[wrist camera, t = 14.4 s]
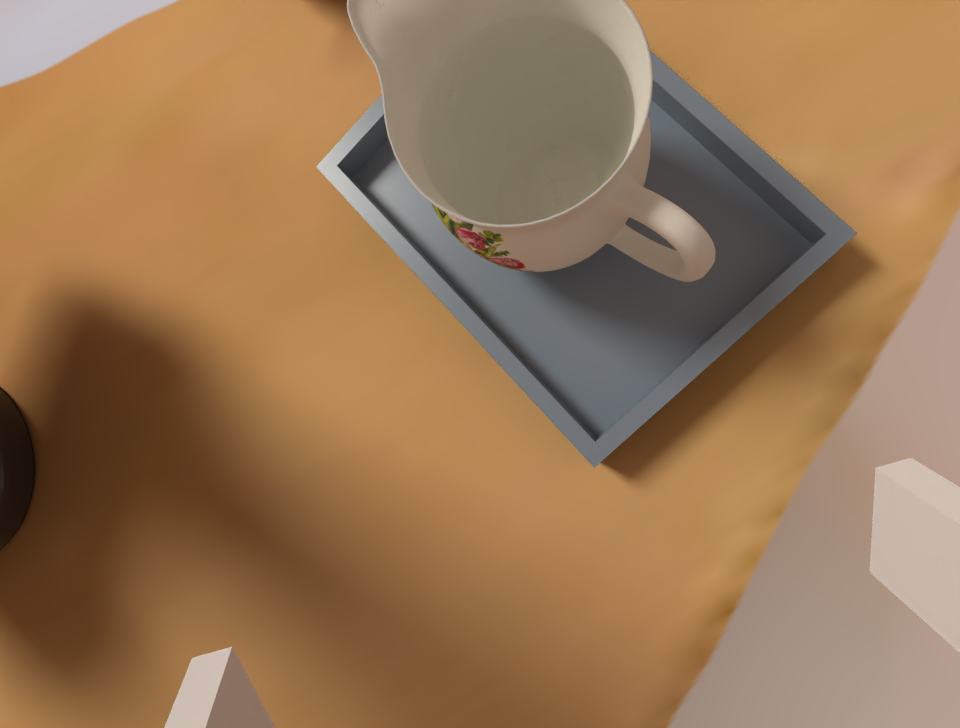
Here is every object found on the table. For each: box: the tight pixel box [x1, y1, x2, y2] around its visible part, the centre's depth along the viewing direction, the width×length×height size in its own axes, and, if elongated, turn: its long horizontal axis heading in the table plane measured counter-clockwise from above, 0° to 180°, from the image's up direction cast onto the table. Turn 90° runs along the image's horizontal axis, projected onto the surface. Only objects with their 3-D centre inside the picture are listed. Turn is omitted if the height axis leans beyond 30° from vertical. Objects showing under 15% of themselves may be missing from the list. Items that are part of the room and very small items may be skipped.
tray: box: [316, 51, 857, 468], centre depth 34 cm, size 25×18×3 cm
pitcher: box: [347, 0, 715, 282], centre depth 28 cm, size 11×18×14 cm, turn 53°
